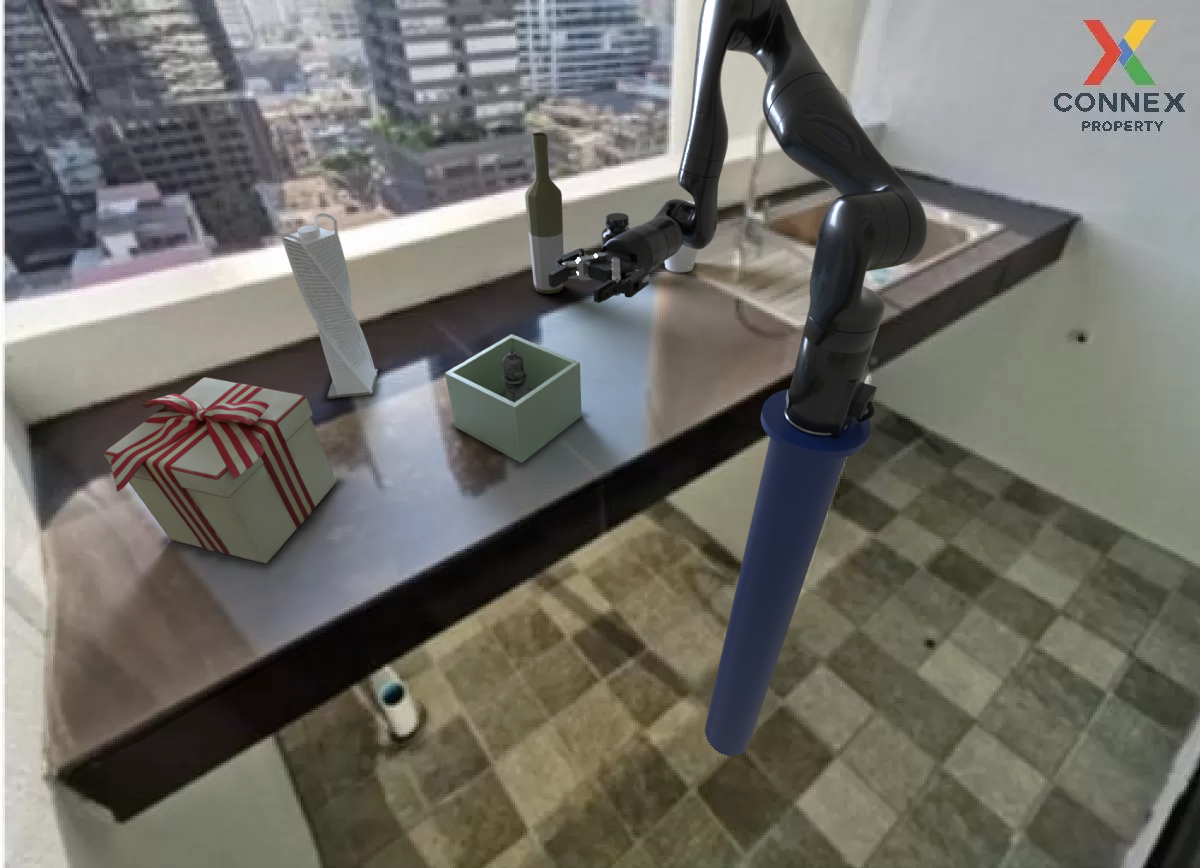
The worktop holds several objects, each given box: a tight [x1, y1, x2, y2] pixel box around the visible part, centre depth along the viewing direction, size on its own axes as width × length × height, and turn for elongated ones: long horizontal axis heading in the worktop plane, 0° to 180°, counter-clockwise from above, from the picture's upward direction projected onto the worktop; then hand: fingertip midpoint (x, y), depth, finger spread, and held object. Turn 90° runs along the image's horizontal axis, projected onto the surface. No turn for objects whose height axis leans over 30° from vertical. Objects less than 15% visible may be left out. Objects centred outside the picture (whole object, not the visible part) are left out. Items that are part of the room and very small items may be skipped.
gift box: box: [103, 377, 337, 564], centre depth 71 cm, size 17×18×17 cm
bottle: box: [524, 132, 565, 295], centre depth 118 cm, size 7×7×30 cm
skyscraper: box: [281, 212, 379, 399], centre depth 91 cm, size 8×8×28 cm
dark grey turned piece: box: [499, 349, 533, 403], centre depth 88 cm, size 6×6×12 cm
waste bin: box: [444, 333, 583, 464], centre depth 89 cm, size 14×14×10 cm
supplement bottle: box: [601, 212, 631, 249], centre depth 130 cm, size 7×7×12 cm
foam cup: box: [664, 200, 698, 273], centre depth 131 cm, size 10×9×13 cm
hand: (572, 288), depth 88 cm, fingers open, 8 cm apart
